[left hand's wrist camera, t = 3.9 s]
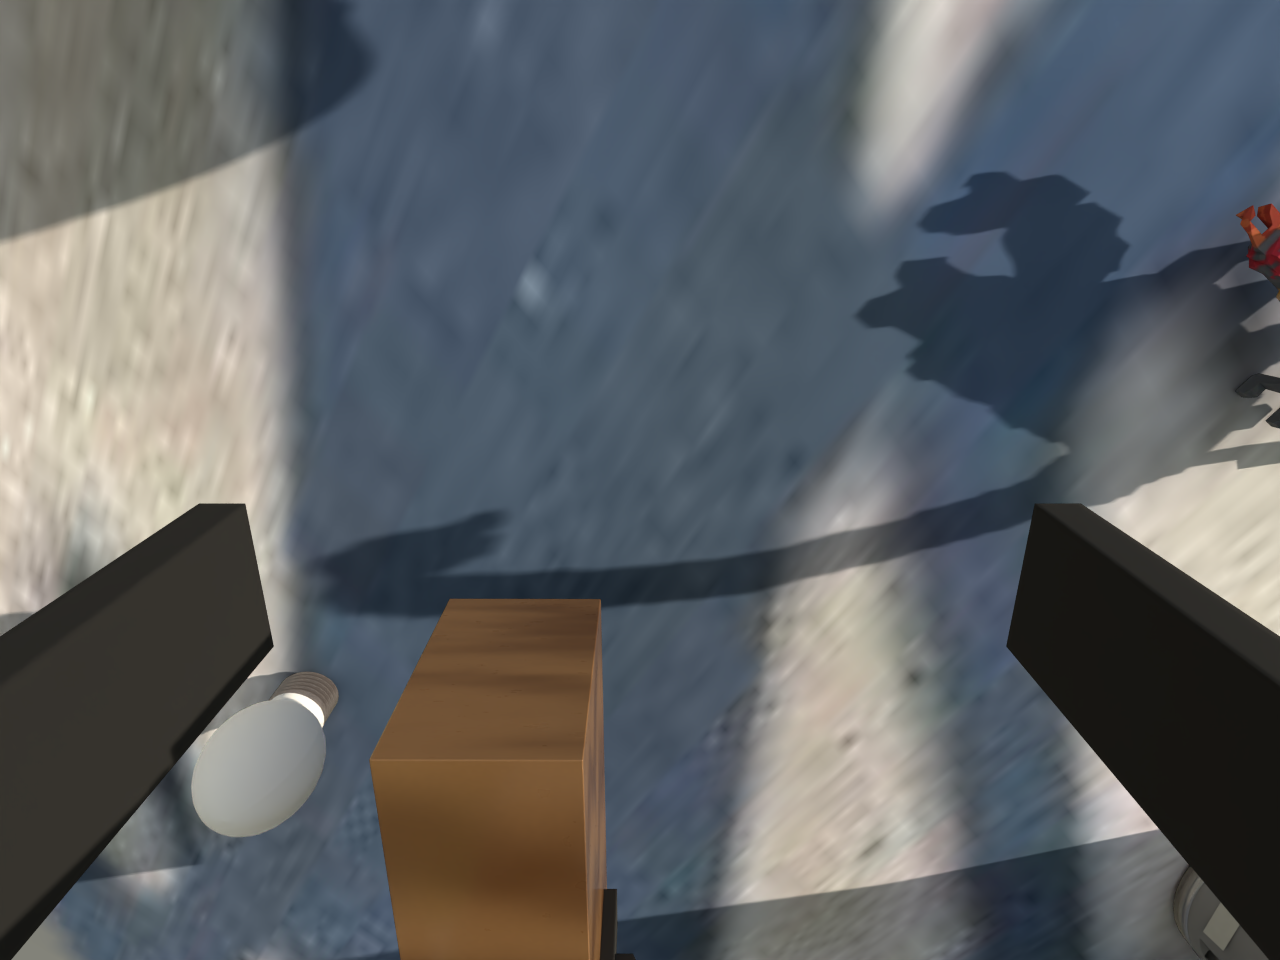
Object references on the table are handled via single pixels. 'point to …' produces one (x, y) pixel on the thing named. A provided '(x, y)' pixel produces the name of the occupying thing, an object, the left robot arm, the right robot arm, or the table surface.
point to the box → (498, 785)
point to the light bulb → (265, 758)
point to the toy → (1276, 260)
